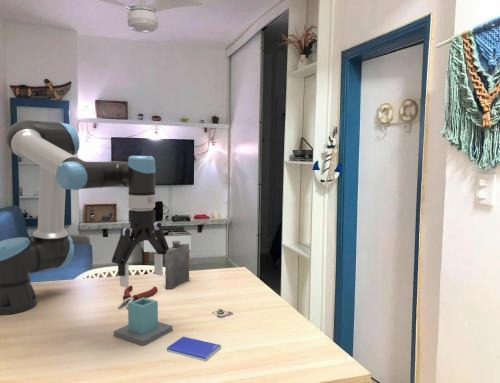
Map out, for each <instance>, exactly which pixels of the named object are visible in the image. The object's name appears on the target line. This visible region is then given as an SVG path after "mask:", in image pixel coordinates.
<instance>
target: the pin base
mask: <svg viewBox="0 0 500 383" xmlns="http://www.w3.org/2000/svg"><path fill="white" fill-rule="evenodd" d="M172 331H173V325H171V324H167V323H164V322H161V321H158V327H157V328H155V329H153V330H151V331H149V332H147V333H145V334H140V333H137V332H134V331H131V330H128V324H127V325H124V326H122V327H120V328H117V329H115V330H113V337H116V338H119V339H121V340H125V341H127V342H130V343H132V344H136V345H139V346H141V347H144V346H146V345H147V344H149V343H152V342H154V341H156V340H158V339H160V338H162V337H163V336H165V335H167V334H169V333H171V332H172ZM161 336H162V337H161ZM159 337H160V338H159Z"/></svg>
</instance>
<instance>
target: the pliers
mask: <svg viewBox="0 0 500 383" xmlns="http://www.w3.org/2000/svg"><path fill="white" fill-rule="evenodd" d="M132 291H133V285H129V287H127V288H126V287H125V288H124V292H123V293H124V296H122V302H121V303H120V304H119V306H118V307H117V309H122V308H123V307H125V308H126V309H127V310H128V303H130V302H133V301H135V300H138V299H140V298H143V297H144V298H147V299H149V298H151V297H154V296H155V295H156V294H157V292H158V287H157V286H153V287H152V288H151V289H149V290H146V291H143V292H140V293H138V294H133V295H131V292H132Z"/></svg>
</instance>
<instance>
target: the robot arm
mask: <svg viewBox="0 0 500 383" xmlns="http://www.w3.org/2000/svg"><path fill="white" fill-rule="evenodd" d="M4 140H5V144H6V146H7V149H8V150H9V151H10V152H11V153H13V154H14V155H16V156H18V157H20V158H23V159H28V160H30V161H32V162H34V163H35V164H36V165H38V166H39V186H38V191H39V192H38V210H37V211H38V216H37V217H38V218H37V229H36V230H35V231H34V232H33V233H32V239H30V240H29V237H24V236H23V237H22V236H21V237H20V236H18V237H11V238H6V239H4V240H1V241H0V316H4V315H12V314H18V313H22V312H25V311H28V310H31V309H32V308H34V307H36V306H37V304H38V297H37V294H36V292H35V289H34V288H33V285H32V282H31V274H35V273H38V272H39V273H40V272H44V271H47V270H55V269H58V268H60V267H65V266H66V265H68V264H69V263H70V262H71V261H72V259H73V257H74V252H75V246H74V245H75V244H74V241H73V239H72V237H71V236H69V233H68V232H67V230H65V212H66V210H65V209H66V208H65V207H66V190H73V191H76V190H85V189H86V190H87V189H97V188H98V189H101V188H118V187H119V188H123V187H124V188H128V222H129V224H130V225H129V226H130V227H129V228H125V227H121V229H120V235H119V236H120V237H119V239H118V242H117V244H116V247H115V251H114V252H113V256H112V259H111V263H113V264H117V275H118V276H119V287H123V288H125V289H126V288H127V287H129V286H130V285H129V282H130V281H129V276H130V275H129V270H130V269H129V268H130V267H129V263H127V262H128V261H129V259H130V257H131V256H132V253H133V252H134V250H135V248H136V246H137V245H139V243H141V242H144V241H148V242H149V244H150V245H151V247H152V248H153V249H154V251H155V252H156V253H154V258H153V260H154V266H153V268H154V275H157V276H163V273H164V272H163V271H164V268H163V267H164V266H163V264H164V263H165V262H164V260H165V254H166V253H167V251H168V250H169V248H170V247H169V244H168V242H167V240H166V237H165V234H164V232H163V227H162V226H163V225H162V222H157V221H156V210H155V209H154V208H155V207H156V171H157V170H156V160H155V158H154V156H152V155H130V156H128V159H127V161H118V160H111V161H85V160H83V159H81V158H78V157H77V156H76V155H77V154H78V152H79V150H80V138H79V134H78V132H77V131H76V129H75V128H74V126H72V125H70V124H69V123H64V122H60V121H44V120H32V119H27V120H21V121H18V122H15V123H13V124H12V125H11V126H10V127H9V128H8V129H7V131H6V133H5V138H4ZM166 250H167V251H166Z"/></svg>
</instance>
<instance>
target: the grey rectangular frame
mask: <svg viewBox="0 0 500 383" xmlns="http://www.w3.org/2000/svg"><path fill="white" fill-rule="evenodd" d="M215 313H216V314H215ZM224 313H225V314H224ZM211 314H213V315H215V316H216V317H217V318H219V319H222V318H223V319H224V318H226V317H229V316H232V315H234V313H233V312H232V311H226V310H223V309H221V308H219V309H217V310H215V311H212V312H211Z"/></svg>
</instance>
